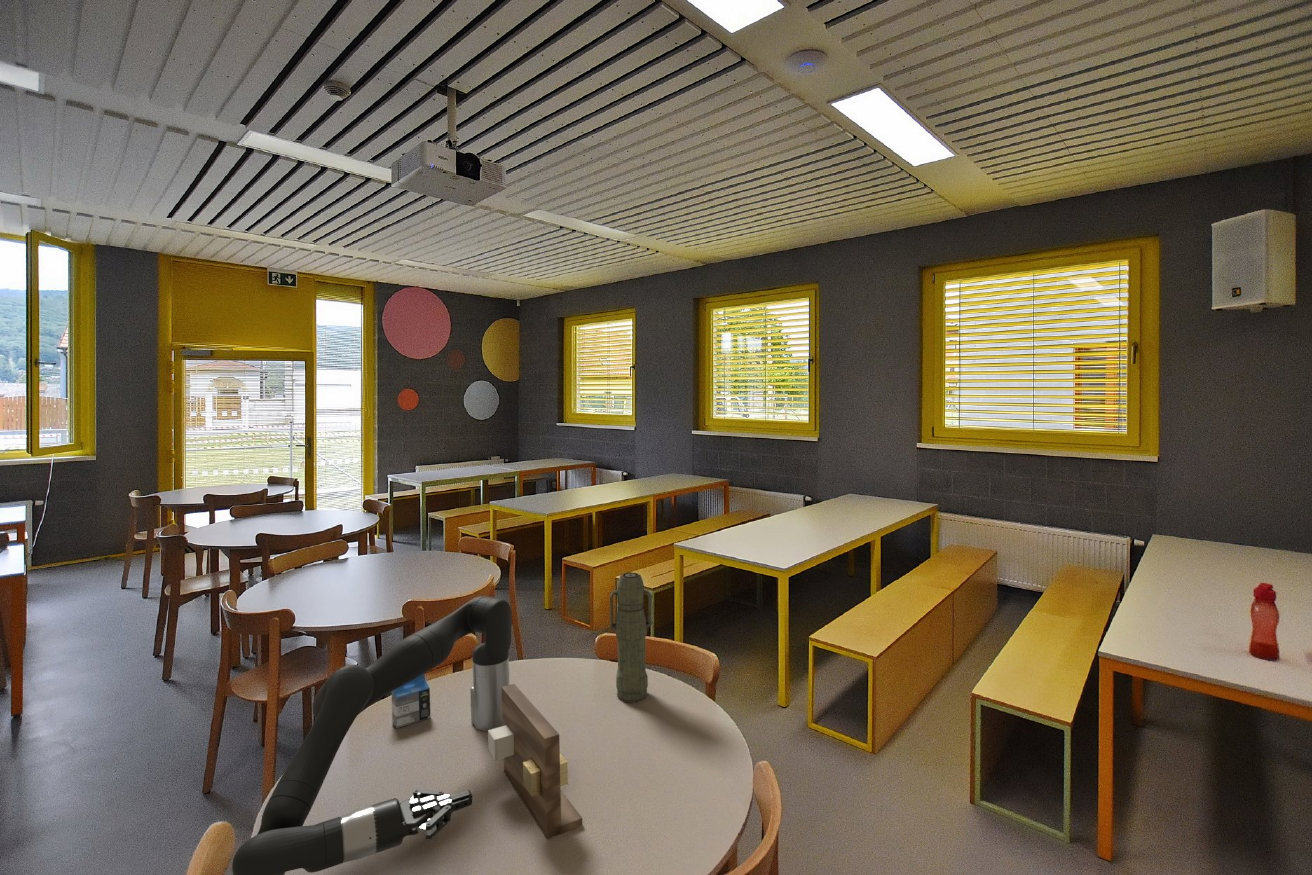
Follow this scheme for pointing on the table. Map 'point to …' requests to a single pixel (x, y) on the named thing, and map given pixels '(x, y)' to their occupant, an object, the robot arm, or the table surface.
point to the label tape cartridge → (411, 702)
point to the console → (544, 748)
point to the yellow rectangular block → (534, 776)
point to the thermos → (631, 636)
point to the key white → (501, 742)
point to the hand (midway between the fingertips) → (471, 796)
